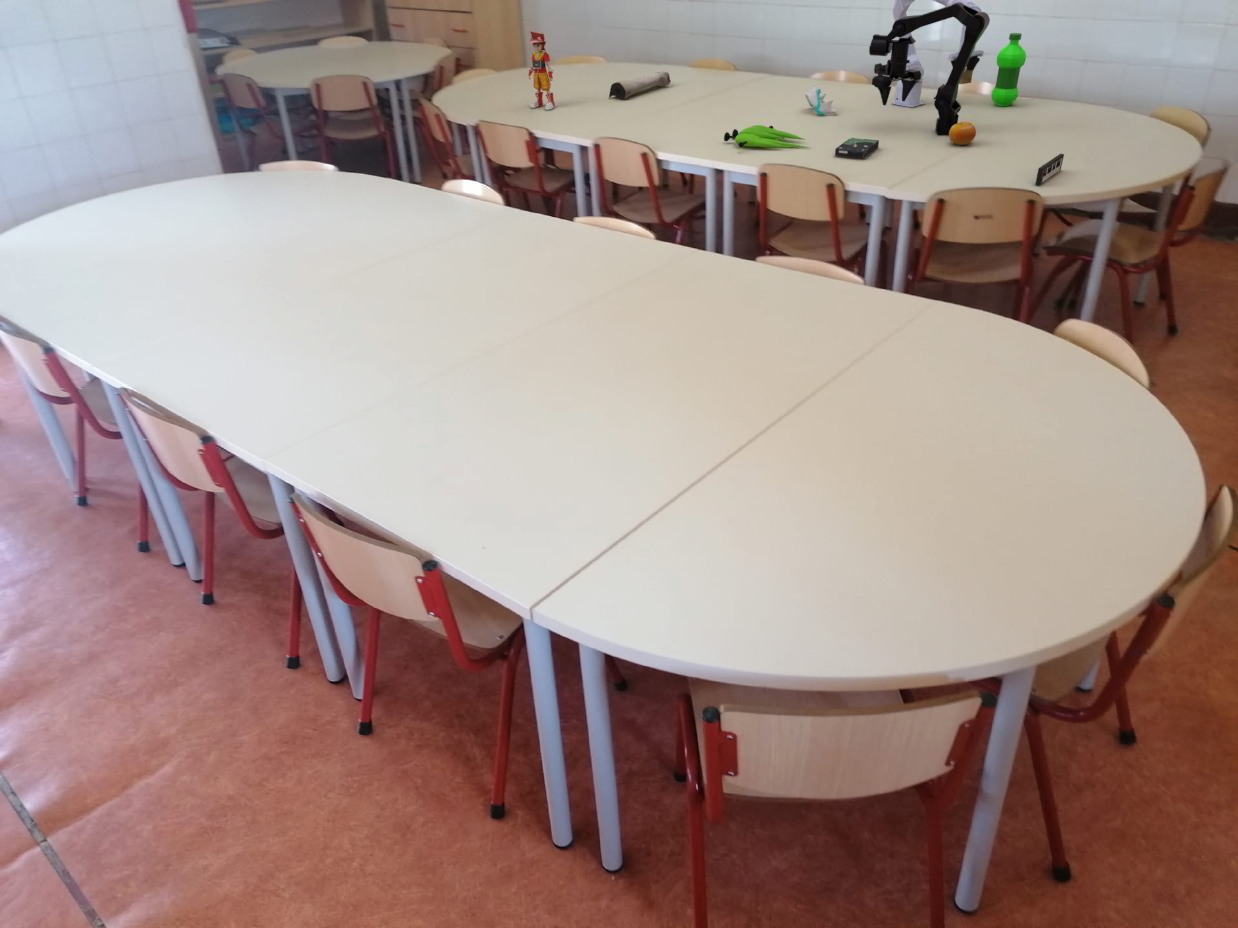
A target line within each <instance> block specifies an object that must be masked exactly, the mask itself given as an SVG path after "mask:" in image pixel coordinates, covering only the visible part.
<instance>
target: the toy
mask: <svg viewBox="0 0 1238 928" xmlns="http://www.w3.org/2000/svg"><path fill="white" fill-rule="evenodd" d="M529 33H530V35H531V36H528V37H527V38H528V39H529V40H528V41H527V43H529V44H530V43H531V44H532V48H533V50H534V51H533V52H532V55H531V58H530V59H531V63H530V66H528V74H527V75H528V76H527V77H528V79H529V80H531V75H532V74H533V84H532V85H533V86H532V87H533V88H534V89H535V90H536V92H534V95H535V97H536V100H535V101H533V102H531V105H530V108H531V109H535V108H538V107H542V106H544V101H543V100H544V99H543V95H544V92H546V94H545V97H546V99H547V103H546V104H545V106H544V110H546V111H549V110H553V109H554V107H555V106H556V105H555V99H554V92H551V91H550V90H551V86H552V84H551V82H552V81H553V80H554V77H553V73H554V71H555V70H554V69H552V68H551V63H550V61H551V59H550V58H551V57H550V54H549V53H548V52H547V50H546V48H545V46H546V44H547V41H545V35H544V33H543V32H542V33H539V32H535V31H529Z"/></svg>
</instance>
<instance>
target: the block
mask: <svg viewBox="0 0 1238 928" xmlns="http://www.w3.org/2000/svg"><path fill="white" fill-rule="evenodd" d="M973 72H974V70H973V71H972V70H969V69H966V68H965V71H964V73H963V75H962V78H961V80H960V83H959V85H965V84H972V78H973V74H974V73H973Z"/></svg>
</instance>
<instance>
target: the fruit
mask: <svg viewBox="0 0 1238 928" xmlns="http://www.w3.org/2000/svg"><path fill="white" fill-rule="evenodd" d="M976 135H977V129H976V126H975V125H974V124H973V123H971V122H969V121H962V122H961V121H960V122H958V123H957V124H955V125H953V126H952V127H951V129H950V131H949V135H948V138H949V141H951V142H952V143H953V144H955V145H961V146H965V145H968V144H970V143H972V142H973V140H974V139H975V138H976Z"/></svg>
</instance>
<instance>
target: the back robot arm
mask: <svg viewBox="0 0 1238 928" xmlns="http://www.w3.org/2000/svg"><path fill="white" fill-rule="evenodd" d="M915 1H916V0H894V2H893V6H892V10H891V12H892V16H893V19H894V22H895V21H897V20H899V19H901V18H903V17H906V16H908V15H907V11H908V10H909V8H910V6H911V4H913V3H914V2H915ZM932 1H933V2H935V3H938V4H939V5H940V4H941V5H942V6H944V7H947V6H950V5H953V4H955V3H957V2H961V3H963V4H964V5H966V6H968V7H970V8H972V9H975V10H977V11H978V12H982V9H981V8H980V6H979V5H977V4H976V3H974V2H973V1H971V0H970V1H968V0H932ZM965 30H966V26H965V25H963V24H962V27H961V34H960V39H959V40H960V41H959V47H958V50H957V52H955V53H952V54H951V53H950V54H948V57H947V60H948V61H950V64H951V67H952V68H953V66H954V64H955V61H956V59H957V57H958V54H959V52H960V49H961V47H962V45H963V42H964V36H965ZM909 36H912V37H913V35H912V32H911V33H909V34H907V35H905V36H903V37H898V39H899V38H908V37H909ZM980 57H981V58H982V57H984V50H981V49H979V50H976V46H975V47H974V50H973V52H972V54H971V57H970V59H969V61H968V64H967V66H966V68H965V69H969V70H972V71H973V72H974V70H975V68H976V67H977V65H978V64H979V62H980V60H981V59H980ZM907 60H910V63H908V64H907V66H906V70H908V69H914V70H918V71H920V72H921V79H920V80H918V82H917V83H916V84H915V85H914V87H913V88H912V90H911V91H910V93H909V95H908V96H907V98H906V100H905V101H902V89H903V84H902V82H901V80H898V81H897V83H896V86H895V93H894V98H893V99H894V101H893V102H892V104H893V105H898V106H903V107H908V108H914V107H918V106H921V105H925V102H924V101H921V95H922V88H923V81H924V78H923V77H924V75H925V70H924V68H923V66H922V63H921V62H920V61H919V58H918V54H917V50H916V47H915V43H913V44H909V50H908V58H907Z"/></svg>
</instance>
